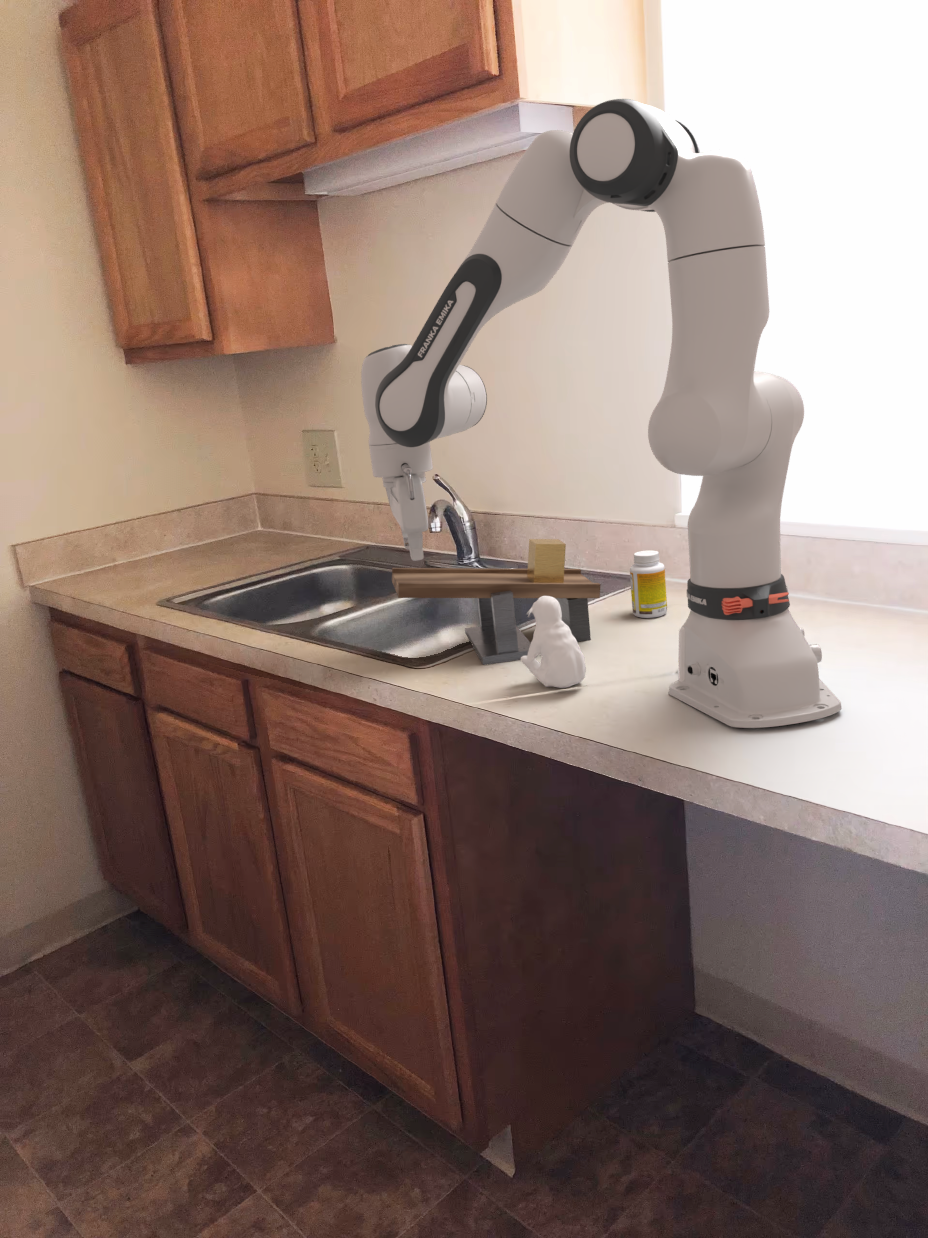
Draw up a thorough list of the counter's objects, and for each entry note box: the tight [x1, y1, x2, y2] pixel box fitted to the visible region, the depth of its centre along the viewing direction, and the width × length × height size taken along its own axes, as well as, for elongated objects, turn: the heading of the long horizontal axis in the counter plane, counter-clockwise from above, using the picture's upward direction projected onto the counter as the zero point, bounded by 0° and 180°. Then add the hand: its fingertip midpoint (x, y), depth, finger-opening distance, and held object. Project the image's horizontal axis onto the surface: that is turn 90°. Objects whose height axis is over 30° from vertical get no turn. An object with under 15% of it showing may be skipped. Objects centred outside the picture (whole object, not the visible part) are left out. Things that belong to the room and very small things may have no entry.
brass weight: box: [527, 538, 566, 583], centre depth 153 cm, size 5×5×6 cm
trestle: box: [464, 591, 592, 666], centre depth 154 cm, size 17×18×10 cm
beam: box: [391, 567, 601, 599], centre depth 153 cm, size 12×30×3 cm, turn 99°
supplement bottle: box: [629, 549, 668, 619], centre depth 162 cm, size 6×6×10 cm
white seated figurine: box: [520, 596, 587, 689], centre depth 134 cm, size 6×8×12 cm
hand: (413, 554), depth 150 cm, fingers open, 8 cm apart
